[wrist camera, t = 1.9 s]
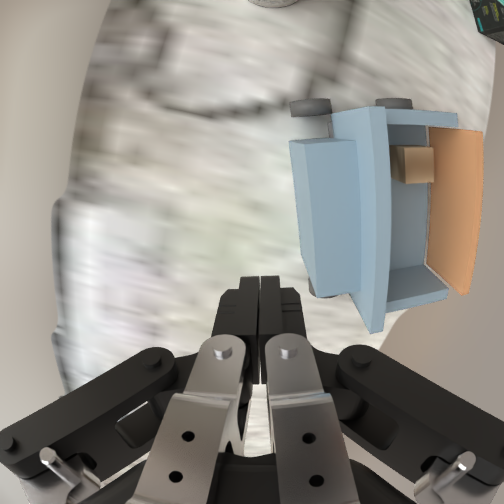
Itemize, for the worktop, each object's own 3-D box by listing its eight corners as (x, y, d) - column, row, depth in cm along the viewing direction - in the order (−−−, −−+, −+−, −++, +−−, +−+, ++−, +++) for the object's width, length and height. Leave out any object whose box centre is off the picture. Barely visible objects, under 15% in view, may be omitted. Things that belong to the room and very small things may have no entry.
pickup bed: (283, 104, 34) (304, 85, 19) (400, 101, 33) (472, 95, 18) (303, 283, 44) (324, 355, 29) (403, 267, 43) (455, 324, 28)
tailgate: (428, 126, 28) (475, 130, 20) (439, 127, 28) (485, 132, 20) (426, 263, 36) (461, 295, 27) (435, 261, 36) (471, 292, 27)
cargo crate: (388, 145, 30) (404, 147, 26) (416, 144, 30) (433, 147, 26) (390, 177, 32) (405, 183, 28) (417, 176, 31) (434, 182, 28)
